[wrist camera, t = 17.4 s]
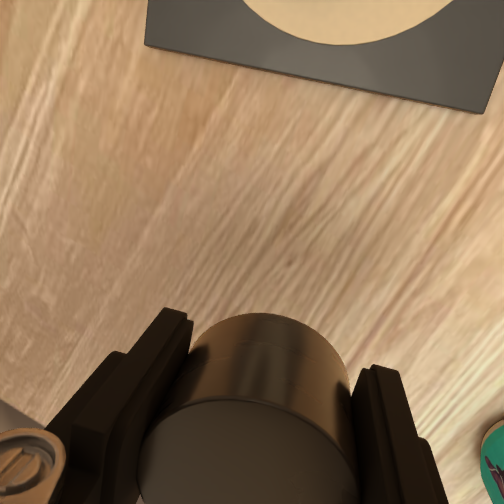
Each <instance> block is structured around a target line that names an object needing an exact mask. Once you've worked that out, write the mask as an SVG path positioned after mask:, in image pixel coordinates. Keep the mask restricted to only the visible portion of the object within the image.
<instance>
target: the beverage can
mask: <svg viewBox="0 0 504 504" xmlns="http://www.w3.org/2000/svg"><path fill="white" fill-rule="evenodd" d="M480 469H481V476H482V479H483V482H484V485H485V487H486V489H487V491H488V494H489V496H490V498H491V500H492V503H493V504H504V419H503V420H501V421H499V422H497V423H496V424H494V425H493V426H492V427H491V428H490V429H489V430H488V432H487V433H486V434H485V436H484V438H483V440H482V444H481V458H480Z"/></svg>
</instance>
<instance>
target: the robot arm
mask: <svg viewBox="0 0 504 504" xmlns="http://www.w3.org/2000/svg"><path fill="white" fill-rule="evenodd" d="M193 326H194V322H193V321H191V320H187V313H185V312H181V311H177V310H174V309H170V308H166V307H164V308H163V309H162V310H161V312H160V313H159V314H158V315H157V317H156V318H155V319H154V321H153V322H152V323H151V324H150V326H149V327H148V328H147V329H146V331H145V332H144V333H143V334H142V336H141V337H140V338H139V339H138V341H137V342H136V343H135V344H134V346H133V347H132V348H131V350H130V351H129V352H128V353H127V354H125V353H121V352H118V351H113V352H111V353H110V354H109V355H108V356H107V357H106V358H105V360H104V361H103V362H102V363H101V364H100V365H99V366H98V368H97V369H96V370H95V371H94V372H93V373H92V375H91V376H90V377H89V378H88V379H87V380H86V381H85V383H84V384H83V385H82V386H81V387H80V388H79V390H78V391H77V392H76V393H75V394H74V395H73V397H72V398H71V399H70V400H69V401H68V402H67V403H66V405H65V406H64V407H63V408H62V409H61V410H60V412H59V413H58V414H57V415H56V416H55V417H54V418H53V420H52V421H51V422H50V423H49V424H48V425H47V427H46V428H45V429H44V430H42V429H38V428H18V429H13V430H8V431H5V432H2V433H0V504H136V502H137V500H138V498H139V495H140V492H139V488H138V484H137V476H136V472H137V465H138V458H139V452H140V446H141V443H142V440H143V437H144V435H145V433H146V432H147V430H148V428H149V426H150V424H151V422H152V420H153V419H154V417H155V415H156V413H157V411H158V409H159V408H160V406H161V404H162V402H163V400H164V398H165V396H166V395H167V393H168V391H169V389H170V387H171V385H172V384H173V382H174V380H175V378H176V376H177V374H178V372H179V371H180V369H181V367H182V365H183V363H184V361H185V359H186V358H187V356H188V353H189V347H190V342H191V337H192V331H193ZM351 403H352V412H353V422H354V431H355V440H356V450H357V459H358V469H359V478H360V487H361V504H449V503H448V500H447V497H446V494H445V490H444V487H443V484H442V481H441V478H440V475H439V472H438V469H437V466H436V463H435V460H434V457H433V454H432V451H431V447H430V445H429V443H428V441H426V440H425V439H424V438H421V437H418V434H417V431H416V428H415V424H414V421H413V418H412V414H411V411H410V407H409V404H408V401H407V397H406V394H405V391H404V387H403V384H402V381H401V377H400V374H399V372H398V371H397V370H393V369H390V368H386V367H382V366H379V365H375V364H373V365H372V366H371V367H370V369H366V368H363V369H362V370H361V372H360V374H359V377H358V380H357V383H356V385H355V388H354V391H353V393H352V396H351Z"/></svg>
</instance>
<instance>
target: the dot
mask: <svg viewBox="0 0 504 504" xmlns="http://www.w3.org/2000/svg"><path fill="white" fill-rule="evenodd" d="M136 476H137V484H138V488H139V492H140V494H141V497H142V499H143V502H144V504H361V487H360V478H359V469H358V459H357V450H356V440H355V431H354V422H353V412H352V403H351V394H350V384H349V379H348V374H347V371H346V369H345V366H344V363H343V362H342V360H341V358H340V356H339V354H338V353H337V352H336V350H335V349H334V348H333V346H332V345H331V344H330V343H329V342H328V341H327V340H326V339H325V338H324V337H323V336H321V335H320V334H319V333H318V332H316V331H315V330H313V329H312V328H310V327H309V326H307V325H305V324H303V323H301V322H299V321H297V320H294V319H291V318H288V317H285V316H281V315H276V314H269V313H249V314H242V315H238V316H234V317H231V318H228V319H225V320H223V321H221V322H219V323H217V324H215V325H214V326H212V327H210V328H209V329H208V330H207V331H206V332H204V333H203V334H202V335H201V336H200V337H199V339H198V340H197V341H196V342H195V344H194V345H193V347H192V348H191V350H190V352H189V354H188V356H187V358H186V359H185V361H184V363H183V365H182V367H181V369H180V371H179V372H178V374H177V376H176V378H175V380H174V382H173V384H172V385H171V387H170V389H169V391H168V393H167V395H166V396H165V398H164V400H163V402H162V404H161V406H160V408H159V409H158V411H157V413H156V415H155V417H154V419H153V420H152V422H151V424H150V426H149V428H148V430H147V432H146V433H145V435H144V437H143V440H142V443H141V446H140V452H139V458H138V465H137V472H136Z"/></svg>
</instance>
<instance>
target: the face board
mask: <svg viewBox="0 0 504 504" xmlns="http://www.w3.org/2000/svg"><path fill="white" fill-rule="evenodd" d="M144 45H145V46H148V47H151V48H155V49H160V50H165V51H170V52H175V53H180V54H185V55H189V56H194V57H199V58H204V59H209V60H214V61H219V62H224V63H228V64H233V65H238V66H243V67H248V68H253V69H258V70H263V71H268V72H272V73H277V74H282V75H287V76H292V77H297V78H302V79H307V80H311V81H316V82H321V83H326V84H331V85H336V86H341V87H346V88H351V89H355V90H360V91H365V92H370V93H375V94H380V95H385V96H390V97H394V98H399V99H404V100H409V101H414V102H419V103H424V104H429V105H434V106H438V107H443V108H448V109H453V110H458V111H463V112H468V113H473V114H484V112H485V109H486V106H487V104H488V101H489V98H490V96H491V93H492V90H493V88H494V85H495V82H496V80H497V77H498V74H499V72H500V69H501V66H502V64H503V61H504V0H148V8H147V18H146V29H145V39H144Z"/></svg>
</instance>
